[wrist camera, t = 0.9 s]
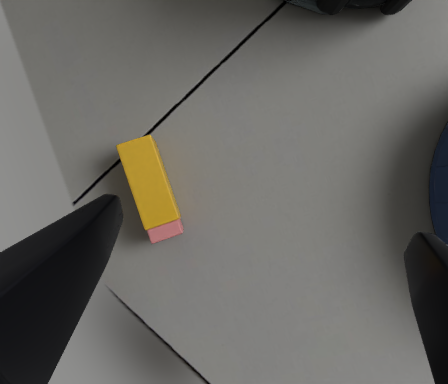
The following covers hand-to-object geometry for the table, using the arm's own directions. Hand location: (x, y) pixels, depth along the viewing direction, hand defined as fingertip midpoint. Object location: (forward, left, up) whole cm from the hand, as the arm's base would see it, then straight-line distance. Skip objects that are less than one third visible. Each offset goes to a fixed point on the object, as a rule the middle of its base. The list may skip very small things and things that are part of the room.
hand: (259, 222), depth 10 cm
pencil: (-2, +5, -14) cm, 15 cm away
